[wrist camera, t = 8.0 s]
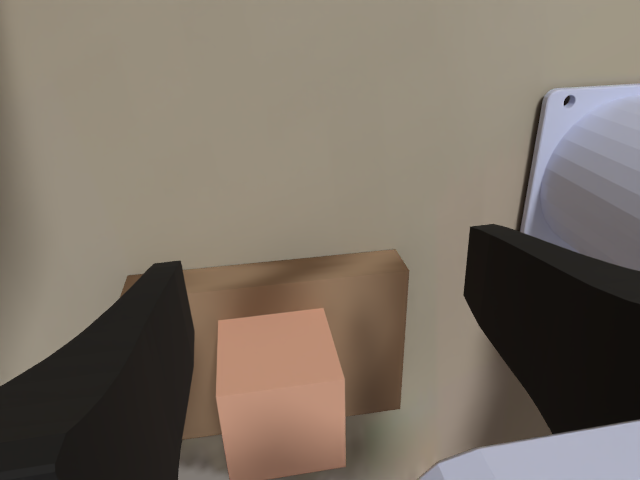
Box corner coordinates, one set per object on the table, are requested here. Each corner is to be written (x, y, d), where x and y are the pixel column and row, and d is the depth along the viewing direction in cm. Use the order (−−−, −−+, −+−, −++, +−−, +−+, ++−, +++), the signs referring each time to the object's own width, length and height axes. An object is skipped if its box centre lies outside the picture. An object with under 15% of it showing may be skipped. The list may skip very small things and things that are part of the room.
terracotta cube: (323, 307, 22) (344, 378, 18) (326, 386, 24) (345, 466, 20) (218, 320, 21) (215, 396, 17) (230, 400, 23) (230, 485, 19)
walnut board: (395, 249, 23) (409, 270, 22) (388, 381, 27) (399, 408, 25) (127, 275, 22) (118, 300, 20) (158, 412, 25) (153, 444, 24)
